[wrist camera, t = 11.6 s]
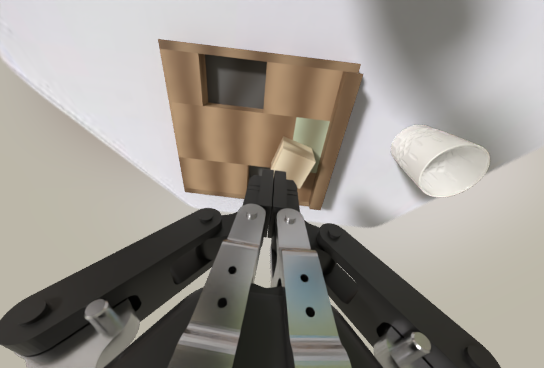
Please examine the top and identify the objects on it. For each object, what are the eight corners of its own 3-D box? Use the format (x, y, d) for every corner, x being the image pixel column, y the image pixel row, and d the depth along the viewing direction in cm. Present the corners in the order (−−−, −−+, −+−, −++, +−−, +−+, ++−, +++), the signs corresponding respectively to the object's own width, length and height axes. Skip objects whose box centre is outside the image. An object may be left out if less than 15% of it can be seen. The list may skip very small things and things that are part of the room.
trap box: (191, 183, 40) (180, 198, 36) (169, 40, 27) (148, 37, 23) (315, 198, 41) (319, 214, 37) (354, 63, 28) (366, 64, 23)
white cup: (448, 133, 32) (505, 161, 24) (410, 171, 36) (447, 205, 28) (412, 111, 31) (459, 132, 22) (376, 153, 35) (405, 184, 26)
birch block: (271, 162, 33) (269, 177, 29) (283, 136, 31) (283, 148, 27) (298, 172, 34) (299, 188, 30) (311, 148, 32) (315, 162, 27)
